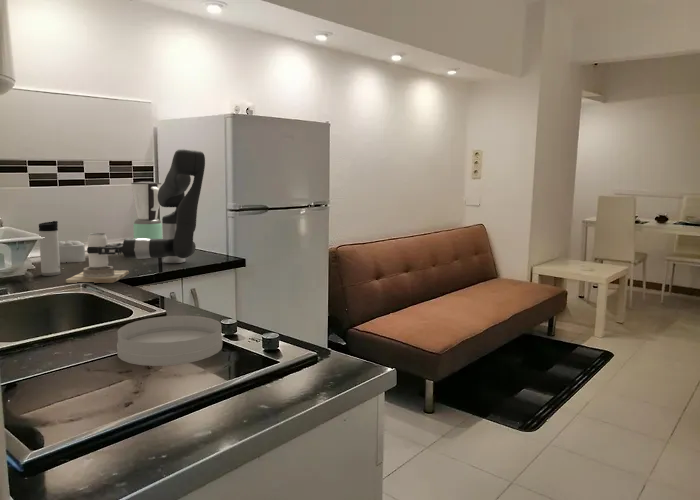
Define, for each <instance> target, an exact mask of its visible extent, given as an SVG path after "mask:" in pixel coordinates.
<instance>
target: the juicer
mask: <svg viewBox="0 0 700 500" xmlns="http://www.w3.org/2000/svg"><path fill="white" fill-rule="evenodd" d="M130 183H131V191H132V196H133V201H134V207H135V211H136V216H137V219H135V220H134V222H133V238H147V239H163V229H162V220H160V219H159V218H158V216H159V209H160V207H161V205H160V204H159V202H158V191H159V189H160V187H161V186H162V183H161V182H154V181H150V180H142V181H136V182H130Z"/></svg>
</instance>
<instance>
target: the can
mask: <svg viewBox="0 0 700 500" xmlns="http://www.w3.org/2000/svg"><path fill="white" fill-rule="evenodd" d="M107 244H108V237H107V235H106V232H105V233H104V232H97V233H95V232H94V233H89V234H88V237H87V248H88V247H99V246H101V247H103V246H105V245H107ZM102 252H105V249H102ZM87 255H88V267H92V268H100V267H107V266H109V255H107V254H101V255H99V254H98V253H87Z"/></svg>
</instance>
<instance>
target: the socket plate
mask: <svg viewBox="0 0 700 500" xmlns="http://www.w3.org/2000/svg"><path fill="white" fill-rule="evenodd" d="M82 270H83V271H81V272H80V273H77V274H75V275H73V276H71V277H69V278H66V279H65V283H66V284H78V283H77V282H94V283H93V284H95V283H96V284H103V283H104V284H105V283H106V284H107V283H109V284H113V283H116V282H117V281H119V280H120V279H123V278H124V277H126V276H128V275H129V274H130V270H115V267H114V266H113V265H108V266H107V267H100V268H92V267H90V266H86V267H84V268H82Z"/></svg>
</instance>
